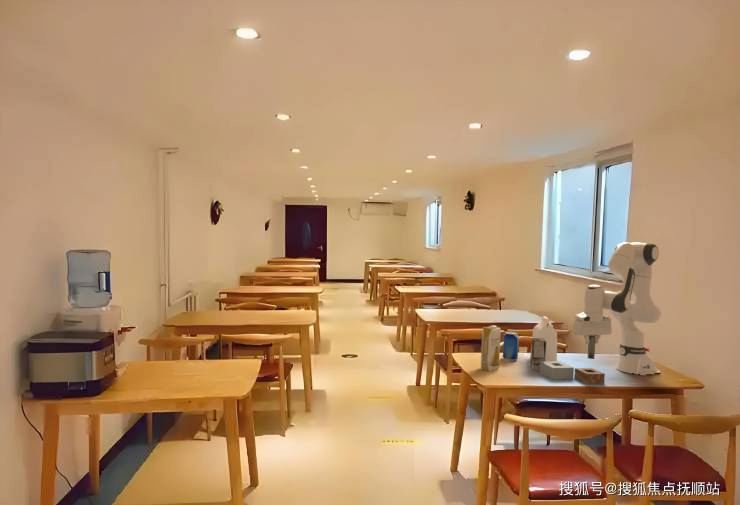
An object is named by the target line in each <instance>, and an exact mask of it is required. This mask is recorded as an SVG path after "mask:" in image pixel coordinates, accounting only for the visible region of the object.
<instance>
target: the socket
mask: <svg viewBox="0 0 740 505" xmlns="http://www.w3.org/2000/svg"><path fill="white" fill-rule="evenodd" d="M539 373H540V374H541V375H543V376H546V377H547V378H549V379H551V380H552V381H553V380H574V375H575V367H574V366H572V365H570V364H567V363H565V362H563V361H561V360H557V361H540V371H539Z"/></svg>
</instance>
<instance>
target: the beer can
mask: <svg viewBox="0 0 740 505" xmlns="http://www.w3.org/2000/svg"><path fill="white" fill-rule="evenodd" d="M519 340H520V337H519V335H518V332H515V331H506V332H505V334H504V335H503V346H502V347H503V348H502V359H503V360H504V361H507V362H516V361H517V360H518V359H519V343H520V342H519Z"/></svg>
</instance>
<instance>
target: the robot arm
mask: <svg viewBox="0 0 740 505" xmlns="http://www.w3.org/2000/svg"><path fill="white" fill-rule="evenodd" d="M659 252H660V251H659V248H658V246H657V245H656V244H655V243H650V242H647V243H646V242H622V243H618V244H617V245H616V247H615V248H614V251H613V253H612V254H611V256H610V259H609V260H608V264H607V267H608V270H609V271H610V273H612V275H614V276H615V277H617V278H620V279H622V284H621V288H620V290H619V291H617V292H616V291H608V290H605V289H604V287H603V285H601V284H589V285H588V286H586V288H585V292H584V300H583V302H584V308H583V311H582V312H581V313H577V314H575V315H574V321H573V324H572V333H573V334H574V336H575V335H576V336H583V338H584V340H585V344H587V345H588V344H590V340H588V339H589V335H593V334H596V338H595V344H599V340H600V339H601V336H607V335H609V336H610V335H611V334H612V332H613V331H612V329H613V328H612V318H611V317H610V316H604V310H606V311H607V310H608V311H609V313H610V315H611V316H612V317H613V318H614V319H615V320H616V322H617V323H618V325H619V328H620V335H621V336H620V337H621V338H620V339H621V340H620V344H619V356H618V362H617V364H616V367H615V369H616V370H618V371H620V372H623V373H627V374H632V373H634V375H638V374H640V375H639V376H646V375H645V374H652V375H654V374H653V373H659V372H661V370H659V369H657V365H656V361H655V360H653V358H651V356H649V355H648V354H647V353H648V352H650V351H651V348H650V347H645V346H644V340H645V333H644V331H643V330H642V329H641V328H639V327H637V325H636V324H635V322H637V323H643V324H656V323H657V322H658V321H659V320H660V319H661V317H662V316H661V314H662V313H661V309H660V308H659V307H658V305H656V303H654V300H653V299H652V296H651V283H652V282H651V281H652V274H653V272H652V271H653V268H652V266H653V264H654V263H655V262H656V261H657V260H658V257H659ZM632 295H633V296H634V297H635V300H632V298H631V297H632ZM656 370H657V371H656Z"/></svg>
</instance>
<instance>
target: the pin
mask: <svg viewBox="0 0 740 505" xmlns="http://www.w3.org/2000/svg"><path fill="white" fill-rule="evenodd" d="M595 338H596V334H593V335H589V337H588V340H590V344H587V359H590V360H594V359H595V355H596V354H595V352H596V351H595V350H596V343H595Z"/></svg>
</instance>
